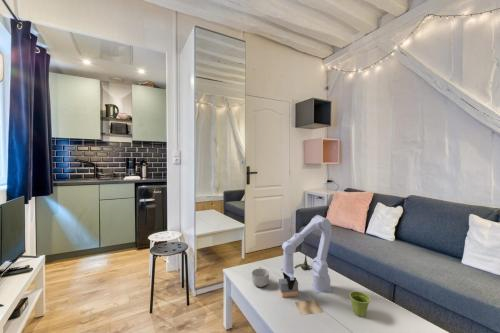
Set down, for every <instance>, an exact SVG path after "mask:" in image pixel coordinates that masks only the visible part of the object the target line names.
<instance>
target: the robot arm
mask: <svg viewBox="0 0 500 333" xmlns="http://www.w3.org/2000/svg"><path fill="white" fill-rule="evenodd" d="M314 230H320V231H321V235H320V241H319V243H318V244H319V245H318V249H317V254H316V257H314V258H313V261H312V262H311V265H310V266H311V267H310V269H312V277H313V278H312V280H313V281H312V283H313V284H310V286H311V288H312V289H313V291H314V292H315V293H316V294H317V293H328V292H332V290H331V277H330V275H329V268H328V267H329V264H328V262H327V257H328V254H329V248H330V245H331V244H330V243H331V238H332V235H333V229H332V222H331V221H330V220H329V219H328V218H326V217H324V216H321V215H320V214H316V215H315V216H313V217H312V218H311V220H310V222H309V223H308V224H307V225H306V226H305V227H304V228H303V229H302V230H301V231H300V232H296V233H294V234H293V236H292V237H291V238H290V239H288V240H286V241H284V242H283V243H282V245H281V249H282V250H283V252H282V253H283V254H282V256H283V260H282V261H283V265H282V266H283V268H282V269H280V270H281V272H282V275H283V279H286V280H287V283H288V288H289V290H292V289H293V286H294V283H295V281H296V280H297V277H295V276H294V275H295V272H294V271H295V270H294V254H295V253H296V252H295V251H296V249H297V247H298V246H299V245H301V244H302V243H303V242H304V239H305V238H306V237H307V236H308V235H309V234H311V233H312V232H314Z"/></svg>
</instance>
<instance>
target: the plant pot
mask: <svg viewBox="0 0 500 333" xmlns="http://www.w3.org/2000/svg"><path fill="white" fill-rule="evenodd" d="M349 297H350V300H351V306H352V312H353V313H354V315H355V316H357V317H360V318H362V317H363V318H364V317H366V316H367V312H368V306H369V304H370V301H371V298H370V296H369V295H368V294H366V293H365V292H363V291H357V290H355V291H350V293H349Z"/></svg>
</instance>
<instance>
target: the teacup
mask: <svg viewBox="0 0 500 333" xmlns="http://www.w3.org/2000/svg"><path fill="white" fill-rule="evenodd" d="M269 273H270V271H269V270H268V269H267V268H264V267H263V268H262V267H261V266H259V267H258V268H256V269H253V270H252V271H251V279H252V283H253V285H255V286H256V287H257V288H263V287H266V285H268V284H269V281H270V274H269Z"/></svg>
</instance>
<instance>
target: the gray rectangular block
mask: <svg viewBox="0 0 500 333" xmlns="http://www.w3.org/2000/svg"><path fill="white" fill-rule="evenodd" d="M278 288H279V292H280V291H281V292H291V291H298V292H299V282H298V280H297V279H296V281H295V283H294V286H293V289H292V290H289V288H288V283H287V280H286V279H284V278H279V279H278Z"/></svg>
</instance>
